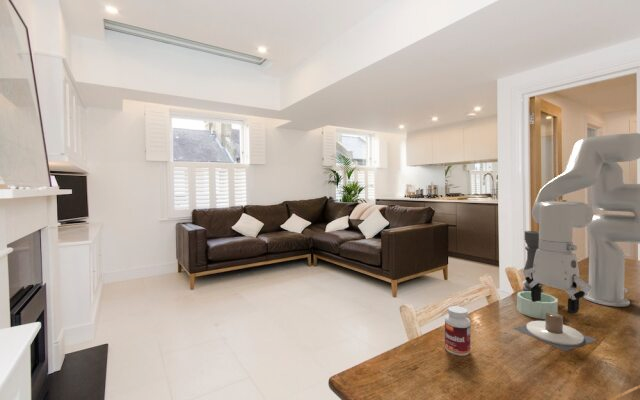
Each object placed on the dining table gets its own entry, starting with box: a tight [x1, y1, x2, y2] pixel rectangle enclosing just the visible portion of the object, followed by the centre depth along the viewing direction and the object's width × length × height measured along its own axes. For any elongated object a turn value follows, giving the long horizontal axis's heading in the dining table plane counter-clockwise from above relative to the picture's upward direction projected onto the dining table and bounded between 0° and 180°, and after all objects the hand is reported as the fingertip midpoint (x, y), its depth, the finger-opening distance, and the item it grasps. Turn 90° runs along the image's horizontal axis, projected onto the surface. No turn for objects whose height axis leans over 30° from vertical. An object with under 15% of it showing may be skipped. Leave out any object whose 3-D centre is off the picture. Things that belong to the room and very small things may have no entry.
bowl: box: [516, 290, 559, 320], centre depth 105 cm, size 11×11×6 cm
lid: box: [526, 313, 584, 345], centre depth 89 cm, size 13×13×5 cm
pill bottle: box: [444, 305, 471, 357], centre depth 82 cm, size 6×6×11 cm
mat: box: [513, 319, 598, 352], centre depth 89 cm, size 14×14×1 cm
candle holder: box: [522, 230, 544, 293], centre depth 118 cm, size 6×6×25 cm
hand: (553, 306), depth 89 cm, fingers open, 9 cm apart
